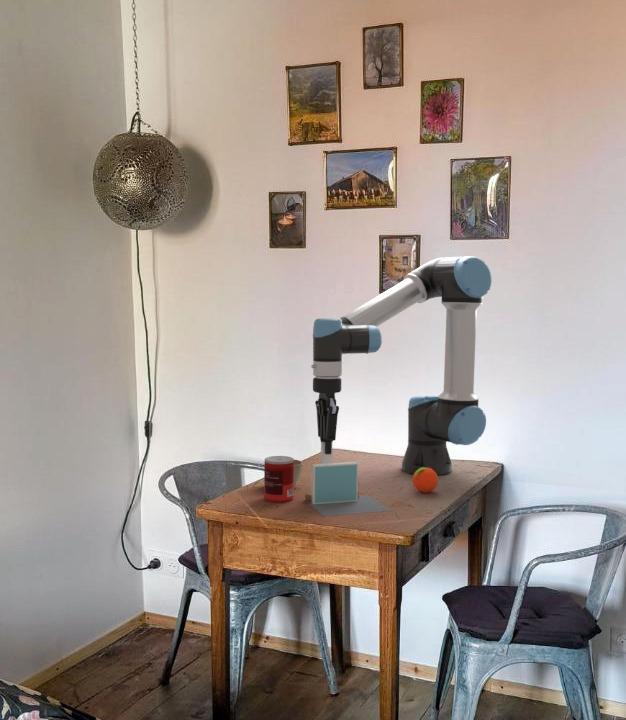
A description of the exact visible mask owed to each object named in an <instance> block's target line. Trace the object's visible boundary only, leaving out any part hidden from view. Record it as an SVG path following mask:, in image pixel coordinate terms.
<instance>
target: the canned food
mask: <svg viewBox="0 0 626 720" xmlns="http://www.w3.org/2000/svg"><path fill="white" fill-rule="evenodd" d="M293 459H294V457H291V456H287V455H286V456H285V455H273V456H268V457H265V458H264V461H263V462H264V468H263V469H264V472H263V473H264V479H263V480H264V491H263V492H264V493H263V494H264V500H265V501H266V502H270V503H274V504H275V503H276V504H277V503H278V504H281V503H288V502H291V501H293V500H294V497H295V495H294V494H295V492H294V489H295V488H294V487H295V486H294V460H293Z"/></svg>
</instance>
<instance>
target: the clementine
mask: <svg viewBox="0 0 626 720" xmlns="http://www.w3.org/2000/svg"><path fill="white" fill-rule="evenodd" d="M412 484H413V487H414V488H415V489H416V490H417V491H418V492H421V493H423V494H428V493H431V492H433V491H434V490H436V489H437V486H438V485H439V477H438V475H437V474H436V473H435V471H434V470H432V469H431V468H427V467H422V468H419V469H418V470H417V471H416V472H415V473H414V474H413V476H412Z"/></svg>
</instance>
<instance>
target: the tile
mask: <svg viewBox="0 0 626 720" xmlns="http://www.w3.org/2000/svg"><path fill="white" fill-rule="evenodd" d="M358 485H359V463H358V461H347V462H332V463H328V464H321V463H316V464H314V463H313V464H311V493H312V504H325V503H339V502H352V501H358V489H359V486H358Z"/></svg>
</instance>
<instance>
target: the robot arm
mask: <svg viewBox="0 0 626 720" xmlns="http://www.w3.org/2000/svg"><path fill="white" fill-rule="evenodd" d="M491 273H492V272H491V269H490V268H489V266H488V265H487V264H486V262H485V261H484V260H483V259H482V258H480V257H477V256H469V255H465V256H464V255H462V256H450V257H449V256H448V257H445V256H444V257H438V258H434V259H432V260H430V261H428V262H427V263H424V264H423V265H420V266H419V267H418V268H416V269H414V270H412V271H410V272H408V273H407V274H406V275H404V277H403V280H402V281H400V282H399V283H397V284H396V285H394V286H393V287H391V288H388V289H387V290H386V291H384V292H382V293H381V294H378V295H377V296H375V297H373V298H372V299H370V300H369V301H367V302H365V303H363V304H362V305H360V306H358V307H357V308H355V309H353V310H352V311H350V312H348V313H346V314H345V315H344V316H342V317H339V318H336V317H335V318H333V317H332V318H331V317H330V318H327V317H326V318H325V317H324V318H320V317H319V318H316V319H314V321H313V327H312V328H313V329H312V331H313V332H312V339H313V340H312V341H313V343H312V345H313V346H312V354H313V355H312V358H313V359H312V363H313V364H311V367H310V368H311V369H312V375H313V378H312V391H313V392H314V393H318V398H317V400H315V407H316V420H317V421H316V422H317V436H318V438H319V439H320V464H328V463H333V442H334V441H336V435H337V425H338V414H339V410H340V406H339V405H337V399H336V394H337V393H340V392H341V391H342V378H341V377H342V375H343V372H342V371H343V369H342V368H343V366H342V365H343V361H342V356H343V355H346V354H348V355H349V354H351V355H352V354H353V355H354V354H366V355H367V354H370V353H372V354H373V353H377V352H378V351H379V350H380V348H381V347H382V343H383V341H382V340H383V336H382V335H383V334H382V332H381V330H380V329H379V327H380V325H381V324H384V323H386V322H387V321H388V320H390V319H392V318H393V317H395V316H396V315H398V314H400V313H402V312H403V311H404V310H405V311H406V309H409V308H410V307H412V306H413V305H415V304H416V303H417V304H423V303H424V302H427V301H428V300H430V299H434V298H440V297H441V302H440V303H441V304H442V305H443V306H444V308H445V310H446V311H445V313H446V315H445V337H444V338H445V341H444V342H445V343H444V369H443V371H444V372H443V373H444V374H443V391H442V392H441V393H440V394H439V395H438V394H436V395H420V396H419V395H418V396H413V397H412V396H411V397H410V399H409V400H408V408H407V411H408V413H407V414H408V415H407V416H408V417H407V418H408V421H407V422H408V423H407V425H408V426H407V427H408V429H407V430H408V431H407V433H408V434H407V438H408V439H407V446H406V449H405V451H404V452H405V453H404V455H403V459H402V461H401V470H402V471H403V472H405V473H408V474H413V475H414V473H415V472H416V471H417V470H418V469H419V468H422V467H427V468H431V469H432V470H434V471H435V473H436V474H437V476H438V475H439V476H440V475H446V474H450V473H452V469H453V468H452V467H453V463H452V459H451V456H450V454H449V450H448V447H447V443H452V444H454V445H460V446H461V445H462V446H470V445H472V444H475V443H476V442H477V441H478V440H479V438H481V437H482V435H483V434H484V432H485V430H486V426H487V417H486V413H485V412H484V410H483V409H481V408H480V406H479V397H478V395H476V393H475V392H474V391H475V390H474V388H475V387H474V386H475V364H476V363H475V361H476V360H475V359H476V340H477V339H476V335H477V333H476V332H477V312H478V311H477V310H478V309H479V308H480V307H481V306H483V298H484V296H486V295H487V294H488V291H490V289H491V286H492V282H493V281H492V279H493V278H492V274H491ZM378 326H379V327H378Z"/></svg>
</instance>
